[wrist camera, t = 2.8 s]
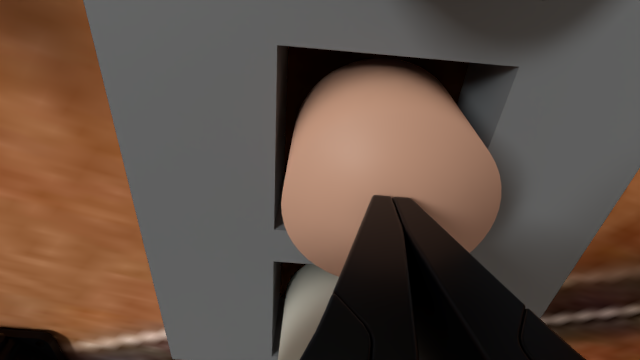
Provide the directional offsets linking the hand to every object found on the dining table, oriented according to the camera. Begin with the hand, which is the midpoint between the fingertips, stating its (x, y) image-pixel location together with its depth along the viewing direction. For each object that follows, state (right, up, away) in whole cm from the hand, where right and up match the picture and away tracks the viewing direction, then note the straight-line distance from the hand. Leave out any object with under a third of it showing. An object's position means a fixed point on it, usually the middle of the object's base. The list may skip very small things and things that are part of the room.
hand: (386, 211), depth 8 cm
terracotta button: (0, +2, +3) cm, 3 cm away
